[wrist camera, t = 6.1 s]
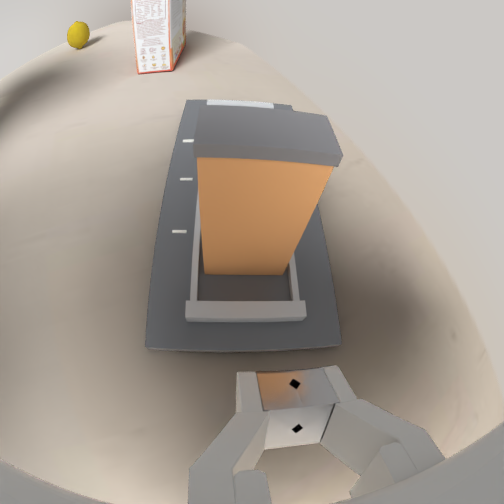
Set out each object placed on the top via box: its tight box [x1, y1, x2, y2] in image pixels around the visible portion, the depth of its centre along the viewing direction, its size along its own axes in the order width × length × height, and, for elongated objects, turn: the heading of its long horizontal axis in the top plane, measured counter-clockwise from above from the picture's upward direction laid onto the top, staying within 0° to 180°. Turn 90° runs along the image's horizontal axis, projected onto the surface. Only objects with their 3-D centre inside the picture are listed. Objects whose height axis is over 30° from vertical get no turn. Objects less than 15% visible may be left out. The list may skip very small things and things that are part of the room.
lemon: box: [67, 21, 90, 49], centre depth 38 cm, size 6×6×8 cm
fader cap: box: [193, 105, 343, 275], centre depth 14 cm, size 3×5×10 cm, turn 92°
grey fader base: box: [145, 100, 342, 352], centre depth 22 cm, size 26×12×2 cm, turn 2°
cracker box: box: [131, 0, 186, 74], centre depth 27 cm, size 14×6×21 cm, turn 3°
